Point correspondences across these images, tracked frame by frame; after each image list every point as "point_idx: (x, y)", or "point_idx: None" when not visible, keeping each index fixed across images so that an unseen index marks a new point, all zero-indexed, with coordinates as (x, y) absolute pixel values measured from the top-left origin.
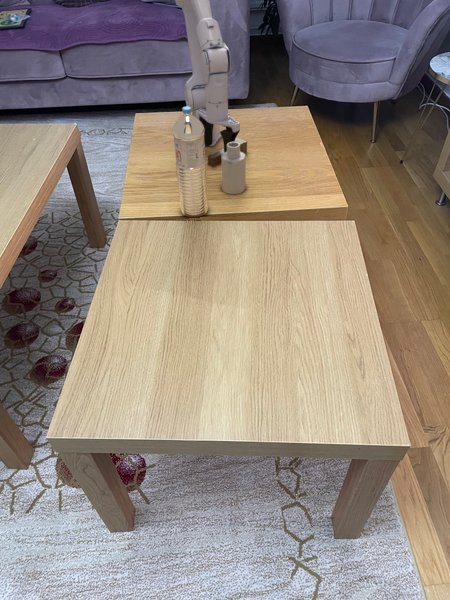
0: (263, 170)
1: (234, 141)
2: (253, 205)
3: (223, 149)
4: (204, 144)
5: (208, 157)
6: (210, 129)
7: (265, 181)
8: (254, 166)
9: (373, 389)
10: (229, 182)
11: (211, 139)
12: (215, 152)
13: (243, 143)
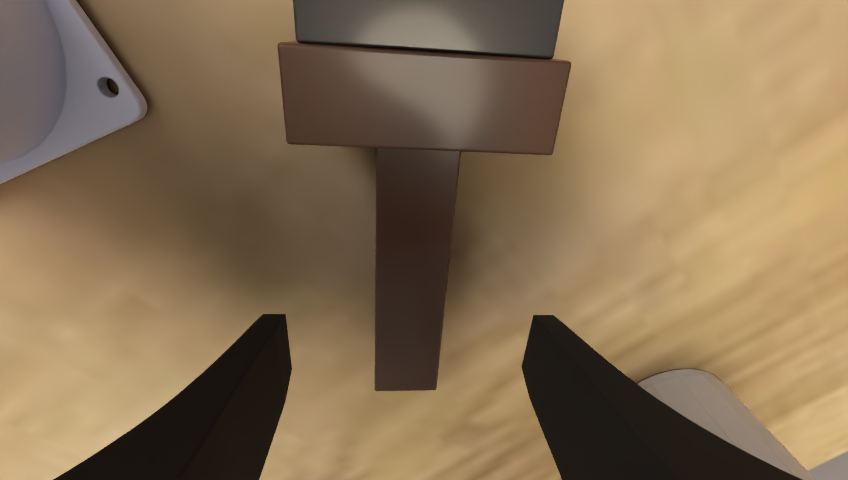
0: (773, 165)
1: (444, 127)
2: (806, 444)
3: (395, 244)
4: (66, 151)
5: (385, 384)
6: (219, 473)
7: (821, 270)
8: (685, 159)
9: None
10: None
11: (270, 354)
12: (381, 324)
13: (566, 86)
